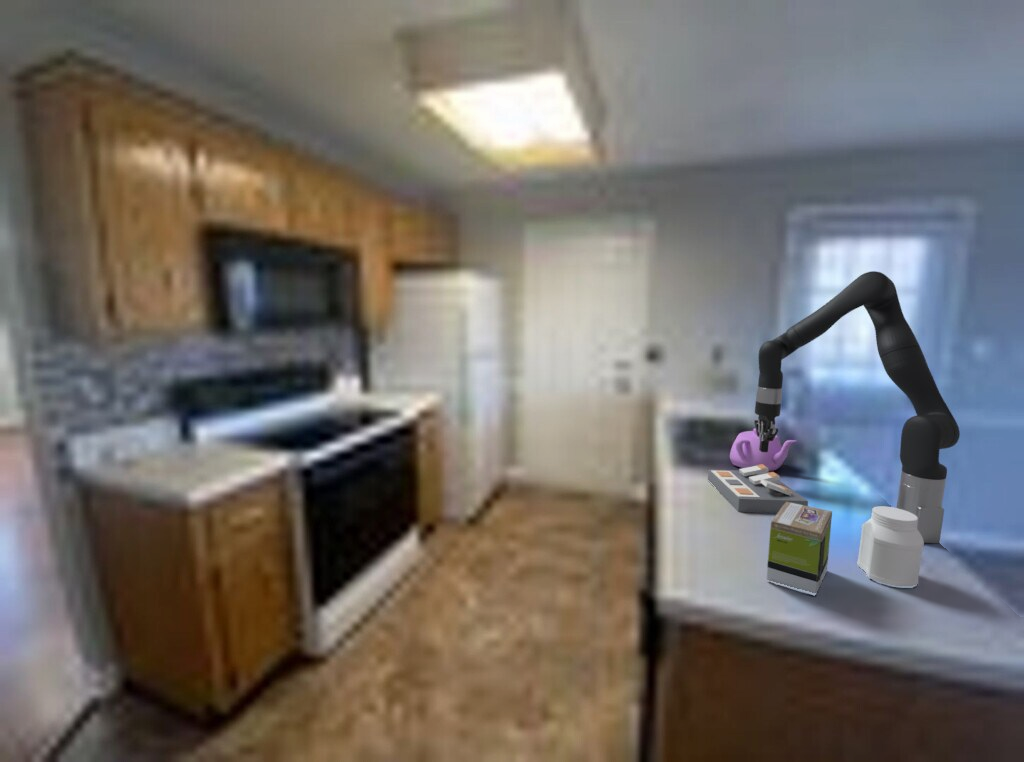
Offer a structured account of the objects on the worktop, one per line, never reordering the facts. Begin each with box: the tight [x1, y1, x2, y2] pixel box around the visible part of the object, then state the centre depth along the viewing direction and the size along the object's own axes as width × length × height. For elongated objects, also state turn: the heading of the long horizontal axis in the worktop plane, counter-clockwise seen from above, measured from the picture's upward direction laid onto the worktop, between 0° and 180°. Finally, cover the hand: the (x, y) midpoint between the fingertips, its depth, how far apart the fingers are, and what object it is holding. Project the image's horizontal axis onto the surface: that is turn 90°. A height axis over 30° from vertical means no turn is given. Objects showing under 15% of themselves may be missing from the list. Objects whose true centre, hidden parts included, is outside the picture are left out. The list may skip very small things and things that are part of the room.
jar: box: [856, 505, 925, 586], centre depth 115 cm, size 12×10×15 cm
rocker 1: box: [738, 464, 770, 476], centre depth 171 cm, size 4×8×1 cm, turn 87°
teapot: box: [729, 428, 797, 472], centre depth 189 cm, size 23×21×15 cm
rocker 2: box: [749, 471, 781, 485], centre depth 163 cm, size 4×8×1 cm, turn 87°
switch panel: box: [707, 469, 809, 514], centre depth 164 cm, size 27×20×5 cm
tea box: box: [766, 502, 833, 594], centre depth 114 cm, size 15×10×15 cm
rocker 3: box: [760, 479, 792, 496], centre depth 155 cm, size 4×8×1 cm, turn 87°
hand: (763, 451), depth 170 cm, fingers closed
